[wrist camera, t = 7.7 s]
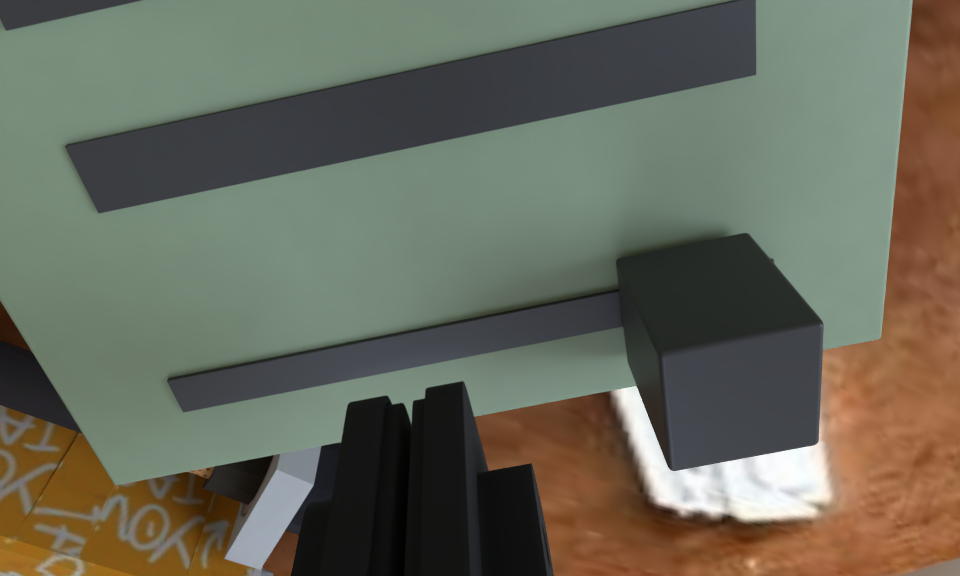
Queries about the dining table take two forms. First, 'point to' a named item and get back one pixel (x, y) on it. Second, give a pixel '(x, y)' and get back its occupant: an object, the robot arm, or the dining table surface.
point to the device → (134, 498)
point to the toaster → (412, 196)
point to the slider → (721, 351)
